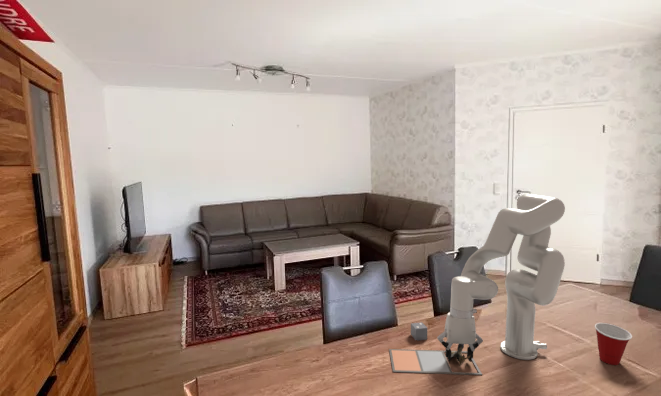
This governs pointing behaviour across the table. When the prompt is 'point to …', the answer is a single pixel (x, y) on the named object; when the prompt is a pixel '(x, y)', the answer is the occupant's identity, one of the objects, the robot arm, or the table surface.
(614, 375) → the table surface
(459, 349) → the eagle figurine
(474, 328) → the robot arm
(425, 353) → the board
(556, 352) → the table surface
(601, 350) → the plastic cup
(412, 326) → the die
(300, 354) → the table surface
